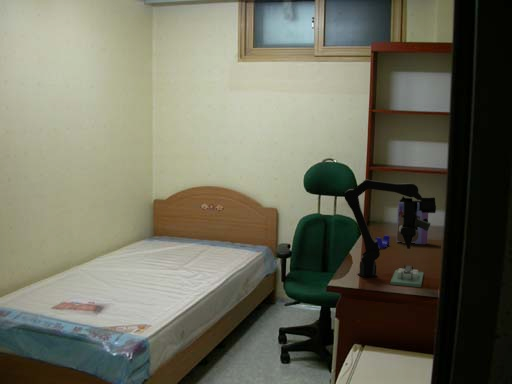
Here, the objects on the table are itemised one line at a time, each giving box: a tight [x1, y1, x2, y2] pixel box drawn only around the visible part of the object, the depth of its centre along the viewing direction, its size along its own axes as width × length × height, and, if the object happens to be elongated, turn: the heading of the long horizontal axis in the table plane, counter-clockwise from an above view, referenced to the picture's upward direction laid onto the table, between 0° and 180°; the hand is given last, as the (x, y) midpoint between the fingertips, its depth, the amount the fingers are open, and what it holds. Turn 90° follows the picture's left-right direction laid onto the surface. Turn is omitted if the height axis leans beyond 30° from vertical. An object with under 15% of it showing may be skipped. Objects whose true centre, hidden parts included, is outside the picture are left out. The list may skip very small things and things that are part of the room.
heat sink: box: [397, 264, 419, 280], centre depth 229 cm, size 13×8×4 cm, turn 160°
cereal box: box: [396, 202, 429, 245], centre depth 323 cm, size 17×5×24 cm, turn 77°
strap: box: [403, 265, 412, 274], centre depth 229 cm, size 12×3×1 cm, turn 160°
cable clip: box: [375, 235, 390, 249], centre depth 309 cm, size 12×4×6 cm, turn 141°
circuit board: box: [390, 269, 424, 288], centre depth 229 cm, size 24×12×1 cm, turn 160°
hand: (408, 248), depth 231 cm, fingers closed
